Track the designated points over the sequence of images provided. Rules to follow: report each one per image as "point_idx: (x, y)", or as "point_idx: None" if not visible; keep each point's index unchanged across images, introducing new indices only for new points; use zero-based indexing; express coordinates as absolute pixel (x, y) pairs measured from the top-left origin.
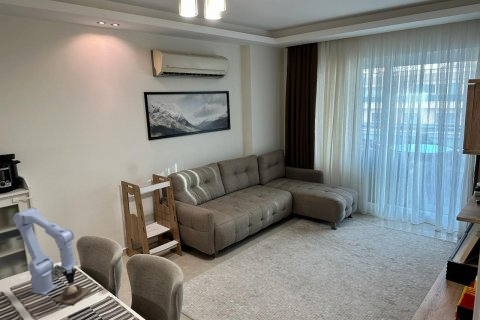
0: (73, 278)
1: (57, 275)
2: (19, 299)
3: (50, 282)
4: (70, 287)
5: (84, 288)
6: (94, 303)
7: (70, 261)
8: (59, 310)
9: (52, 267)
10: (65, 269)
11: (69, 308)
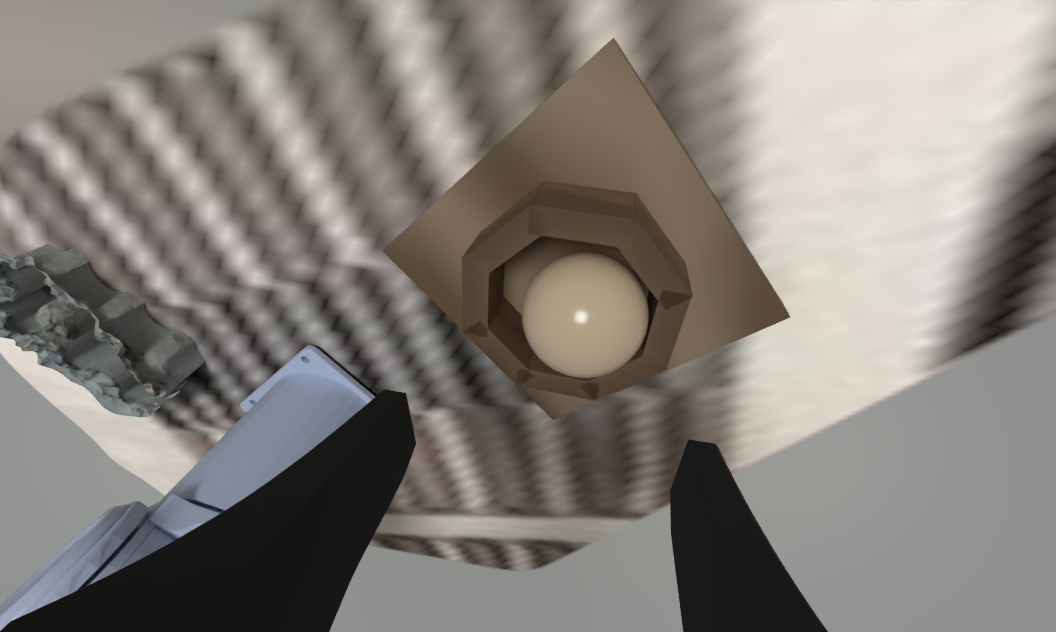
0: (774, 555)
1: (135, 316)
2: (396, 512)
3: (311, 438)
4: (581, 366)
5: (521, 134)
6: (1052, 50)
7: None
8: (746, 405)
9: (119, 523)
10: (329, 621)
11: (802, 341)
